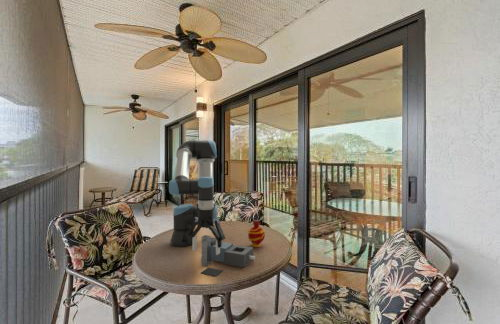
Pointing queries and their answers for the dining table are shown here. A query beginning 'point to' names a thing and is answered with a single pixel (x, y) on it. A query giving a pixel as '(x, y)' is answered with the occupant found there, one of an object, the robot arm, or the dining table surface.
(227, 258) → the block with square socket
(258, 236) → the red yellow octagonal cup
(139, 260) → the dining table surface
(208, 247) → the gray block with peg
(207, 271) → the mat
